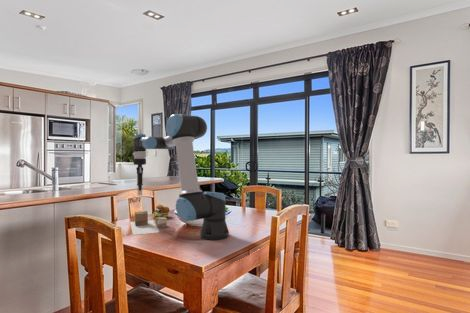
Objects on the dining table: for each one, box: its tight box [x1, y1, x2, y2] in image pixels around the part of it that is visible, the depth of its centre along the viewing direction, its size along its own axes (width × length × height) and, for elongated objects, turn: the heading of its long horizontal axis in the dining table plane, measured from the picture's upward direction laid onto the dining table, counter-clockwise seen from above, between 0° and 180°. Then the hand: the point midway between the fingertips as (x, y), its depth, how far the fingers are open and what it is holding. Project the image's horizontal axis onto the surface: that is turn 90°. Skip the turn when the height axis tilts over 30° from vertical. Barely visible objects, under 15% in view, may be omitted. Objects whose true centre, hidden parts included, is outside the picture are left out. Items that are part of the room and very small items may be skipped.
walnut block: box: [134, 210, 149, 226], centre depth 182 cm, size 7×7×7 cm
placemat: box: [129, 219, 160, 236], centre depth 176 cm, size 32×14×1 cm, turn 22°
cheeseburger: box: [152, 204, 171, 220], centre depth 202 cm, size 10×11×10 cm
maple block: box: [154, 217, 168, 229], centre depth 178 cm, size 5×5×5 cm
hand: (139, 195), depth 191 cm, fingers closed
